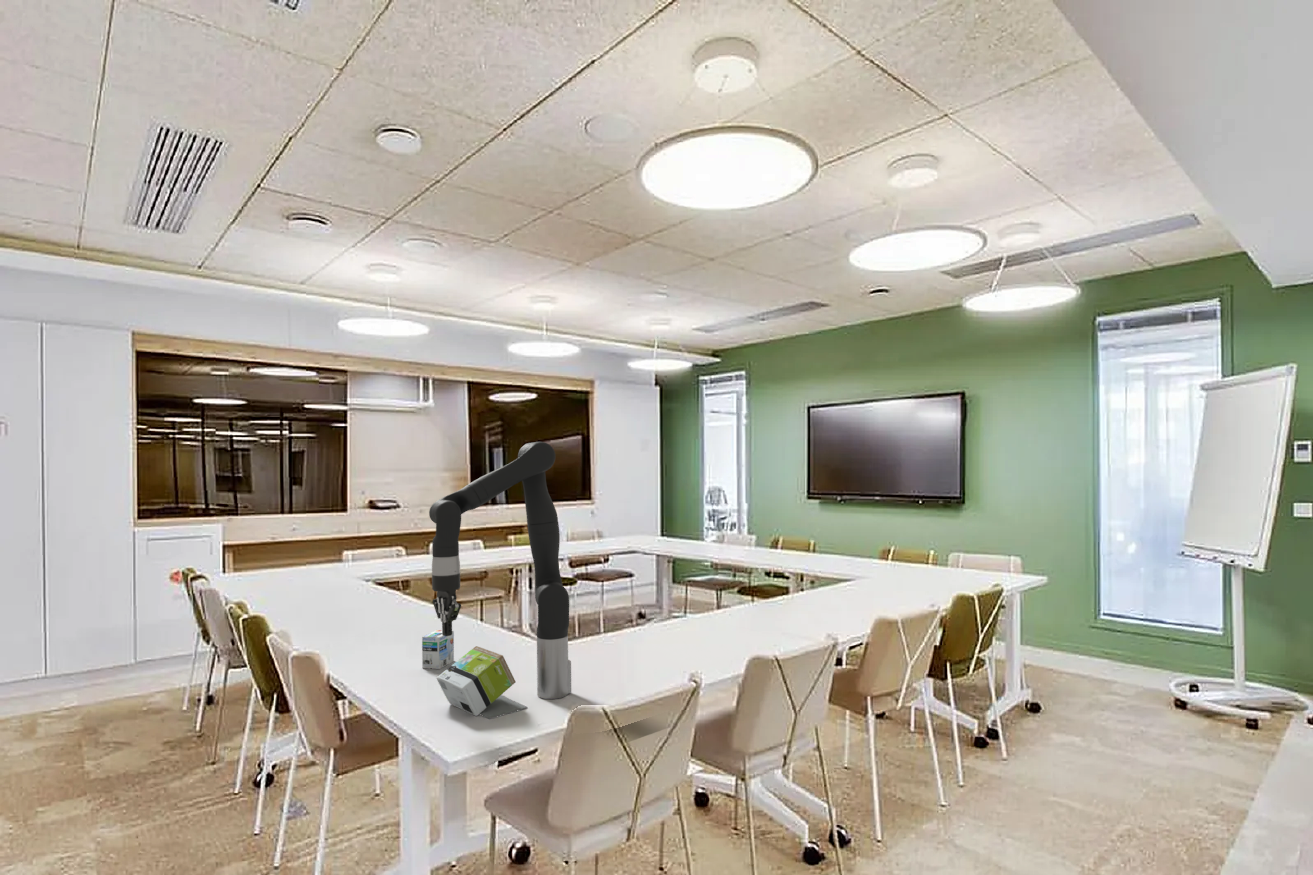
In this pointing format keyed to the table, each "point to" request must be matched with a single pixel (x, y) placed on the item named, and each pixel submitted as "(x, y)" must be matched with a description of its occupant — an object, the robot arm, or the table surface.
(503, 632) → the table surface
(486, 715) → the mat
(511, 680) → the tea box
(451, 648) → the light bulb box
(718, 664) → the table surface
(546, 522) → the robot arm
